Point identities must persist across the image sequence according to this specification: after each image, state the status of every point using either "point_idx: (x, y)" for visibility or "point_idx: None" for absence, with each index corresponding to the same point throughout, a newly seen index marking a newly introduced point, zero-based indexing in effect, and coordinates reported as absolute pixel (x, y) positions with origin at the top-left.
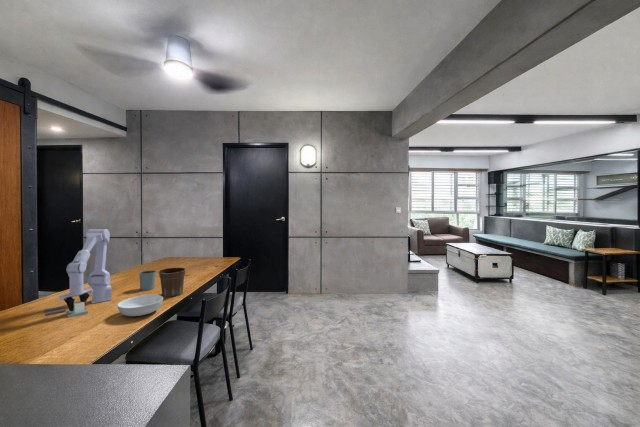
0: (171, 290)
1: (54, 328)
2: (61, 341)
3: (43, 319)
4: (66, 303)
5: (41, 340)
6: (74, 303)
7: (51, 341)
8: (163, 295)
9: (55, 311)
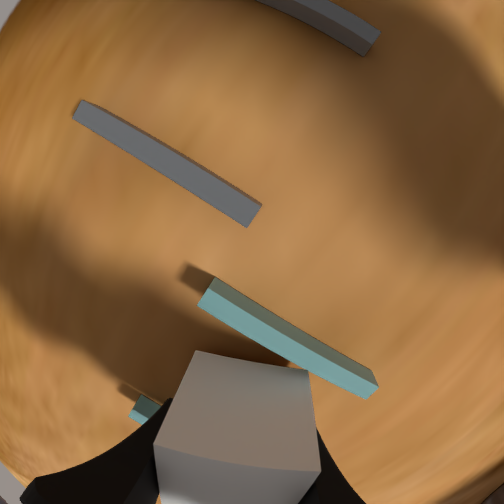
0: None
1: (40, 428)
2: None
3: (36, 221)
4: (98, 456)
5: (9, 439)
6: (191, 493)
7: (28, 465)
8: (496, 494)
9: (151, 151)
